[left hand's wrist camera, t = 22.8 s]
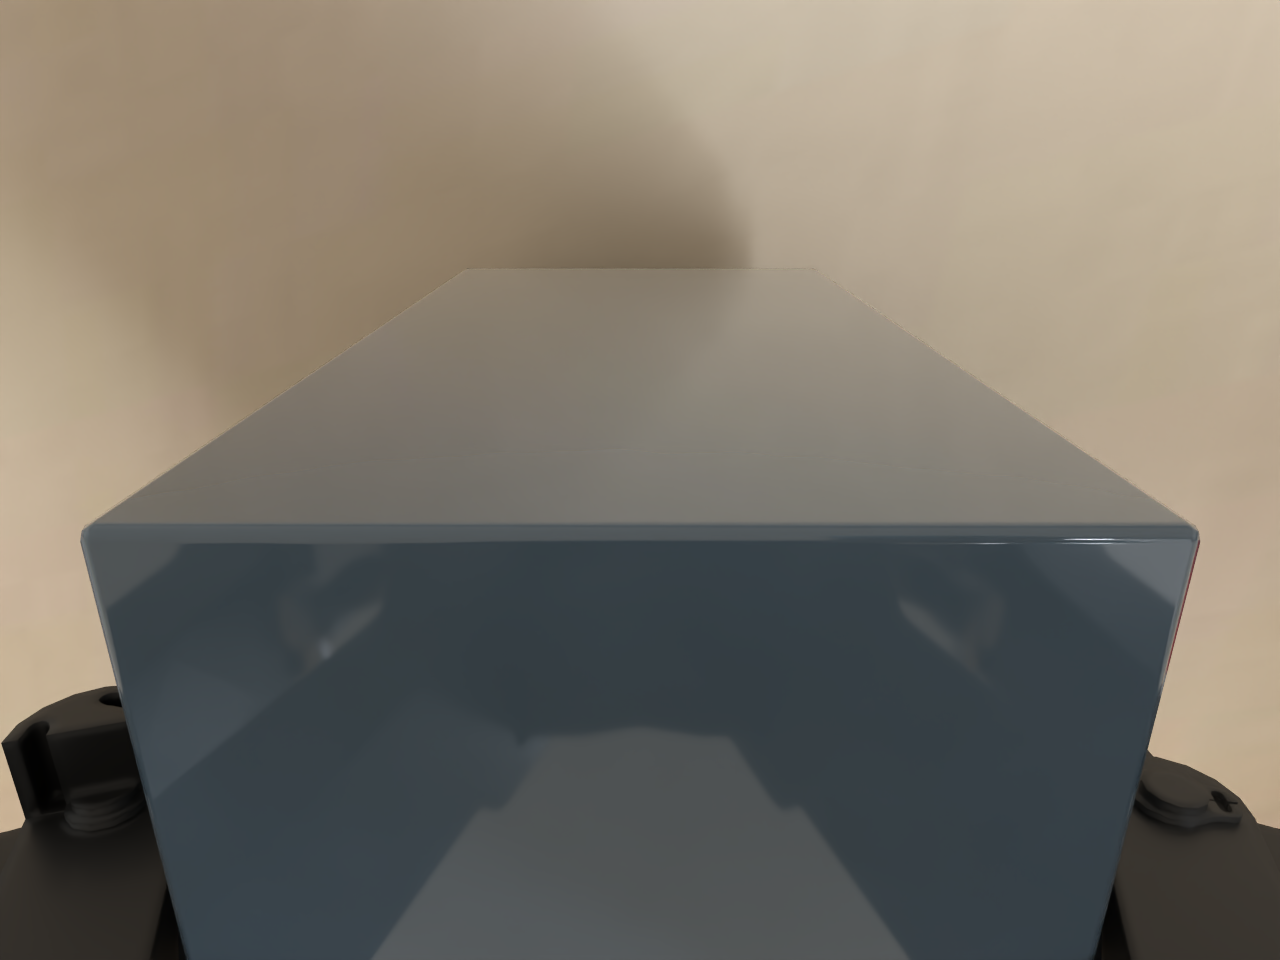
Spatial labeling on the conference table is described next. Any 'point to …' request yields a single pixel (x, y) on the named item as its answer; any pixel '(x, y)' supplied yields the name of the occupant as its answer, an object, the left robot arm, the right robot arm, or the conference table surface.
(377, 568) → the brick
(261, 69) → the conference table surface
